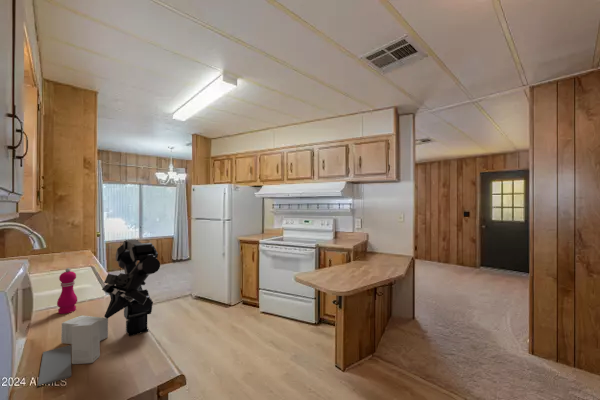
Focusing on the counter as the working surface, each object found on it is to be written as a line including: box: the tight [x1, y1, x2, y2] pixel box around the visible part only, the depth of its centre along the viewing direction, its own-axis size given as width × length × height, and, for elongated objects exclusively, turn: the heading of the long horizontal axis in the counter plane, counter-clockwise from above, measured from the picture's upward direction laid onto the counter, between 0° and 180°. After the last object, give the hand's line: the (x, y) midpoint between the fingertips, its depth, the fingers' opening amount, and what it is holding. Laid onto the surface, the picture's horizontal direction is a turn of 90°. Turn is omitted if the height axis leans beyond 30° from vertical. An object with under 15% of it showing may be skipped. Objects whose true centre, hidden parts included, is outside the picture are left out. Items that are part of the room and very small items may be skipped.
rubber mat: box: [37, 344, 72, 387], centre depth 84 cm, size 7×22×1 cm, turn 41°
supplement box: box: [60, 315, 109, 345], centre depth 99 cm, size 7×7×13 cm
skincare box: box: [71, 320, 101, 365], centre depth 86 cm, size 6×4×12 cm
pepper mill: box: [56, 267, 78, 315], centre depth 126 cm, size 7×7×20 cm
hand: (105, 317), depth 90 cm, fingers closed
